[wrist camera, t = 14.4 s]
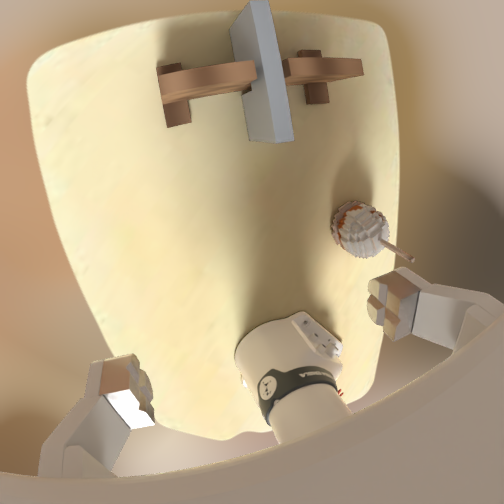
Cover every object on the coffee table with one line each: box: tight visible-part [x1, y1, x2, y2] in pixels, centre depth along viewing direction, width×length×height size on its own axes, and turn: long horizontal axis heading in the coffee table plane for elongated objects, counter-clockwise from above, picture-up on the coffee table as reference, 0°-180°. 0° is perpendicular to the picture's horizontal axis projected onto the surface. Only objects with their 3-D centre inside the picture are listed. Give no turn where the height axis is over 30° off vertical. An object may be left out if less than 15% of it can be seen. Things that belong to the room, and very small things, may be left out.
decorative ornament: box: [331, 201, 415, 263], centre depth 40 cm, size 8×8×15 cm
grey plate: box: [229, 0, 294, 144], centre depth 29 cm, size 16×2×10 cm, turn 10°
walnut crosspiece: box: [156, 50, 364, 128], centre depth 29 cm, size 22×8×10 cm, turn 100°
